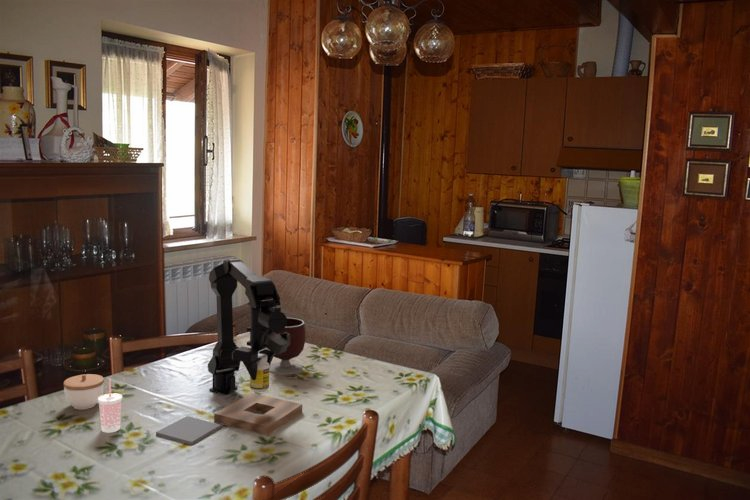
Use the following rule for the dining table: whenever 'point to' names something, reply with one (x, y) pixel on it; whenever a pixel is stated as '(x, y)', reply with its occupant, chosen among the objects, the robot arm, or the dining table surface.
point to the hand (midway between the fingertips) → (259, 376)
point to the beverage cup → (110, 411)
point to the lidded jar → (83, 390)
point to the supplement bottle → (261, 375)
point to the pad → (188, 430)
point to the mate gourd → (290, 348)
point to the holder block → (265, 424)
